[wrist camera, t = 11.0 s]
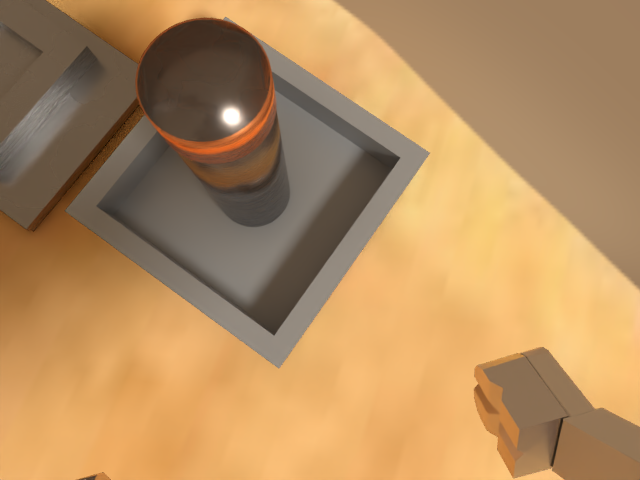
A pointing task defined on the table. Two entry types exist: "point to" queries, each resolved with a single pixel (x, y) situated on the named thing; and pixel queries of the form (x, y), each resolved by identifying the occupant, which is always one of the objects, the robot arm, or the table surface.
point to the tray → (265, 241)
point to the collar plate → (54, 104)
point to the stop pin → (218, 114)
